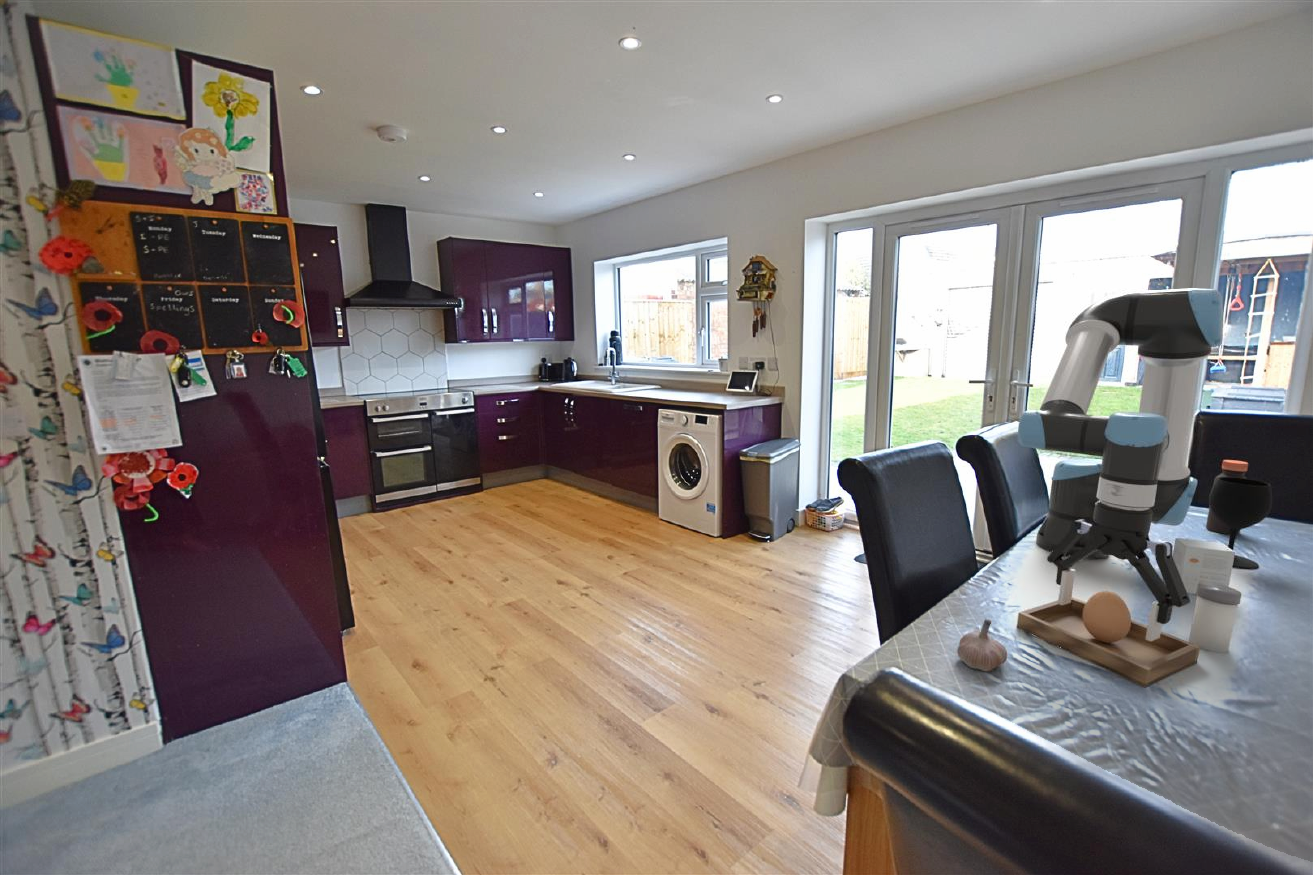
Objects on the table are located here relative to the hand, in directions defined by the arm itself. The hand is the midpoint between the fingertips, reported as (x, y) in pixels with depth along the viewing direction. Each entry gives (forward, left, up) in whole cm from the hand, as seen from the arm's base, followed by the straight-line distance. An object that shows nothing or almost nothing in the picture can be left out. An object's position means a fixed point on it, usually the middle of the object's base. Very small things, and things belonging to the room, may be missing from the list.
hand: (1105, 619), depth 98 cm
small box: (-4, +43, -5) cm, 43 cm away
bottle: (-20, +98, -5) cm, 100 cm away
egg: (0, 0, -4) cm, 4 cm away
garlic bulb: (-5, -25, -5) cm, 26 cm away
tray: (0, 0, -5) cm, 5 cm away
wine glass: (-9, +71, -5) cm, 72 cm away
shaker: (+8, +17, -5) cm, 19 cm away
